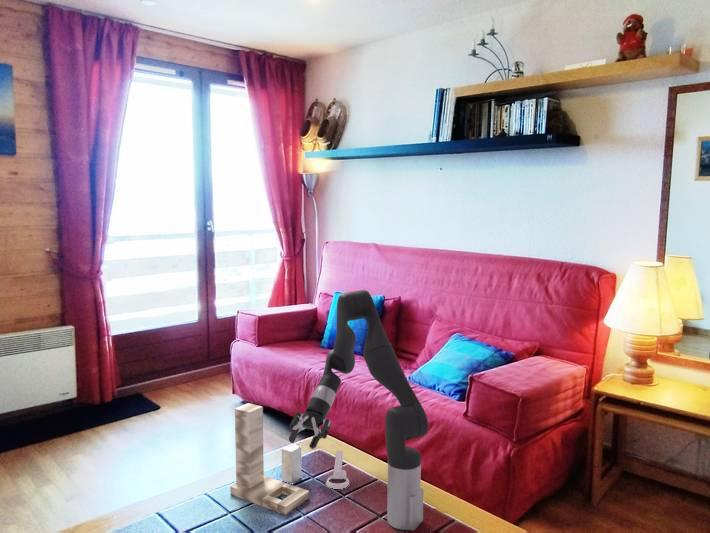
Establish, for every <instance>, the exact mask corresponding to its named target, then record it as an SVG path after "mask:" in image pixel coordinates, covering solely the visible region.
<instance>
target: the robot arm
mask: <svg viewBox="0 0 710 533" xmlns="http://www.w3.org/2000/svg"><path fill="white" fill-rule="evenodd" d="M362 319H364V320H365V321H366V324H367V334H366V338H365V341H364V345H363V350H362V351H363V352H362V354H363V359H364V362H365V365H366V366H367V369H368V371H369V373H370V375H371V376H372V377H373V378H374V380H375V381H377V382H378V383H379V384H381V385H382V386H383V387H384V388H386V390H388V391H389V392H390V393H391V394H392V395H393V396H394V397H395V399H396V400H397V401H398V403H399V404H400V405H399V406H394V407H391V408H390V407H389V409H387V411H386V414H385V417H384V418H385V419H384V426H385V427H384V430H385V449H386V455H387V501H386V502H387V505H386V506H387V507H386V508H387V510H386V511H387V512H386V513H387V514H386V516H387V523H388V525H389V526H391V527H392V528H393V529H396V530H403V531H415V530H416V529H417V528H418V527H419V526H420V525H421V524H422V522H423V521H424V488H421V487H422V486H421V484H422V483H421V472H422V467H421V466H422V455H421V452H420V451H419V450H418V449H416V448H414V447H411V446H407V445H406V441H409V440H414V439H418V438H422V437H425V436H426V435H427V434H428V432H429V420H428V417H427V414H426V412H425V409H424V407H423V406H422V403H421V402H420V399H419V398H418V397H417V395H416V393H415V391H414V390H413V388H412V387H411V384H410V383H409V381H408V379H407V377H406V375H405V372H404V371H403V368H402V367H401V364H400V361H399V359H398V356H397V354H396V352H395V350H394V347H393V346H392V344H391V342H390V339H389V338H388V335H387V333H386V331H385V328H384V327H383V324H382V322H381V319H380V317H379V313H378V310H377V307H376V304H375V302H374V298H373V297H372V295H371V294H370V292H369V291H368V290H366V289H360V290H354V291H348V292H344V293H341V294H339V296H338V298H337V303H336V334H335V339H334V345H333V349H331V350H329V352H328V353H327V354H326V357H325V358H326V359H325V365H324V370H323V374H322V377H321V379H320V380H319V383H318V384H317V387H316V388H315V390H314V392H313V393H312V396H311V398H310V399H309V401H308V404H307V406H306V409H305V411H304V413H301V412H300V411H296V413H295V415H294V416H293V418H292V419H291V422H290V423H289V425H288V426H289V428H290V429H291V430H292V431H291V433H290V434H289V438H288V441H289V442H290V444H294V443H295V441H296V439H297V437H298V435H299V434H298V433H300V432H301V431H305V429H306V430H311V431H313V432H314V435H313V437H312V438H311V442H310V443H309V448H310V450H315V449H316V448H317V446H318V444H319V441H320V440H321V439H324V440H325V439H326V438H327V436H328V435H329V431H330V429H331V427H332V422H331V420H330V419H329V418H327V416H328V415H329V412H330V410H331V407H332V406H333V403H334V402H335V398H336V395H337V392H338V390H339V389H340V386H341V384H342V380H341V379H342V378H340V376H338V375H337V374H336V373H335V372H333V370H334V371H337V372H340V373H341V374H344V375H348V374H351V373H352V371H354V368H355V364H356V358H355V353H354V348H355V345H356V342H357V339H356V338H357V336H356V333H355V331H354V329H353V328H352V327H351V326H350V325H349V322H350V321H351V322H352V321H357V320H362ZM322 425H323V426H322ZM321 426H322V428H321Z"/></svg>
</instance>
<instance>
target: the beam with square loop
mask: <svg viewBox="0 0 710 533" xmlns="http://www.w3.org/2000/svg"><path fill="white" fill-rule="evenodd" d="M263 411H264V407H263V406H261V405H257V404H254V403H249V402H247V403H245V404H243V405H240V406H238V407H235V408H234V428H235V429H234V431H235V432H234V434H235V441H234V442H235V479H236V480H235V484H233V485H231V486H229V487H230V495H232V496H234V497H237V498H239V499H242V500H244V501H247V502H250V503H252V504H255V505H258V506H260V507H263V508H265V509H269V510H271V511H273V512H276V513H279V514H281V515H284V516H287V515H288V514H290V513H291V512H293V511H294V510H295V509H296V507H297V506H298V507H299V505H300V504H301V503H302V504H304V503H305V502H306V501H305V500H307V499H308V498H309V499H310V490H307V489H304V488H302V487H298V486H297V485H296V486H295V485H294V484H292V485H291V484H288V483H285V482H282V480H278V479H275V478H273V477H269V476H266V475H265V474H264V470H265V468H264V463H265V462H264V412H263ZM283 494H284V496H286V495H287V496H286V497H285V498H283V499H280V498H278V497H280V496H281V495H283ZM279 495H280V496H279ZM309 499H308V500H309ZM308 500H307V501H308ZM304 501H305V502H304ZM303 502H304V503H303ZM302 504H301V505H302ZM301 505H300V506H301ZM298 507H297V508H298ZM293 509H294V510H293ZM289 512H290V513H289Z"/></svg>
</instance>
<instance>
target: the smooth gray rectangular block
mask: <svg viewBox="0 0 710 533" xmlns="http://www.w3.org/2000/svg"><path fill="white" fill-rule="evenodd" d="M300 478H301V479H302V445H298V444H296V443H295V444H294V443H290V444H288V445H286V446H284V447H283V448H281V482H282V481H285V482H288V483H291V484H292V483H294V482H295V481H297V480H298V479H300ZM301 479H300V480H301ZM285 482H284V483H285ZM297 482H298V481H297ZM288 483H287V484H288ZM295 483H296V482H295ZM295 483H294V484H295ZM291 484H290V485H291ZM292 485H293V484H292Z"/></svg>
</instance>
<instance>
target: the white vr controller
mask: <svg viewBox="0 0 710 533" xmlns="http://www.w3.org/2000/svg"><path fill="white" fill-rule="evenodd" d="M343 457H344V451H343V450H339V449H338V450H336V451H335V458H334V468H333V472H332V475H330V476H329V477H328V478H327V480H326V481H325V486H326V485H327V486H328V487H330V488H333V489H341V490H344V489H343V488H345V489H347V488H348V487H349V486H350V484H349V483H350V480H349V478H348V476H347V471H346V470H344V469H342V468H343V466H342V465H343ZM331 479H333V480H343V479H344V482H341V483H336V482H335V483H334V482H332V480H331ZM329 480H330V481H329ZM348 485H349V486H348ZM327 486H326V487H327ZM347 486H348V487H347ZM328 487H327V488H328ZM346 487H347V488H346ZM330 488H329V489H330ZM333 489H332V490H333Z"/></svg>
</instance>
